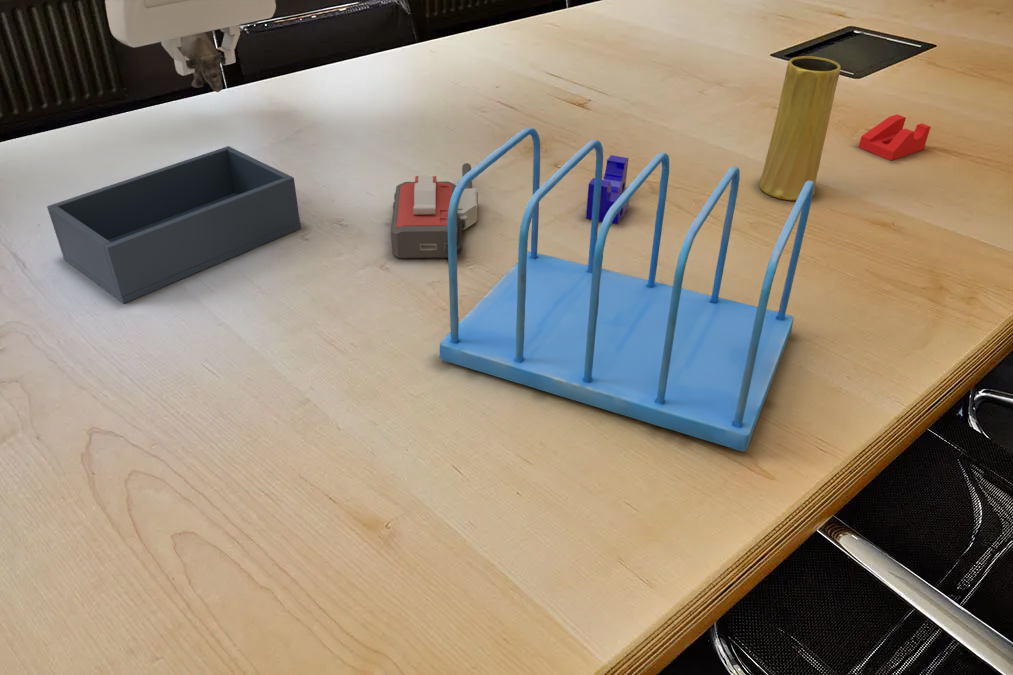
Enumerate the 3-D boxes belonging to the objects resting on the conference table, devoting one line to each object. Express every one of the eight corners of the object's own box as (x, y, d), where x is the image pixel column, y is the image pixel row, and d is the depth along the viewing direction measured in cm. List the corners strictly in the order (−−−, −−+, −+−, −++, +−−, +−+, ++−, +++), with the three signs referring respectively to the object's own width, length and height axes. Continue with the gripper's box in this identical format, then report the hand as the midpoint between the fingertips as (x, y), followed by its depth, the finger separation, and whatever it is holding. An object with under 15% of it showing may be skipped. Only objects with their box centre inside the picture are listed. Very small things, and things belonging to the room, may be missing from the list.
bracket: (890, 136, 110) (897, 114, 109) (923, 149, 107) (930, 126, 105) (858, 147, 107) (864, 124, 106) (891, 160, 104) (898, 137, 102)
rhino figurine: (202, 106, 100) (193, 54, 97) (178, 71, 110) (169, 23, 107) (237, 101, 102) (230, 50, 99) (211, 67, 112) (203, 20, 108)
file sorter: (790, 333, 74) (832, 168, 65) (744, 458, 61) (788, 274, 52) (527, 266, 82) (532, 111, 74) (438, 362, 70) (431, 190, 61)
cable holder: (617, 224, 90) (621, 189, 87) (585, 218, 91) (588, 183, 88) (638, 193, 96) (641, 160, 93) (607, 188, 97) (610, 155, 94)
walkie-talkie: (480, 264, 82) (476, 176, 99) (480, 223, 80) (476, 140, 96) (389, 266, 82) (399, 177, 98) (386, 225, 79) (397, 140, 96)
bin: (64, 259, 82) (46, 206, 79) (237, 194, 94) (228, 145, 91) (123, 303, 76) (107, 247, 73) (301, 228, 88) (294, 177, 85)
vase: (756, 176, 100) (781, 53, 92) (810, 179, 99) (839, 56, 91) (762, 199, 95) (788, 71, 87) (818, 203, 94) (850, 74, 86)
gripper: (247, -69, 105) (262, 45, 113) (85, -47, 92) (115, 80, 100) (278, -61, 101) (292, 56, 109) (115, -37, 89) (144, 94, 97)
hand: (206, 68), depth 105 cm, fingers closed on rhino figurine, 4 cm apart
